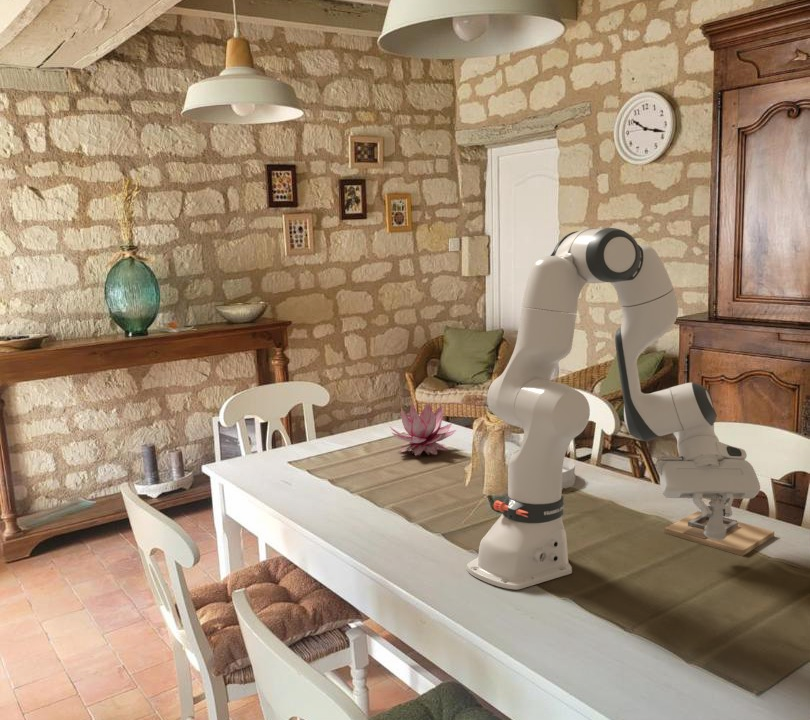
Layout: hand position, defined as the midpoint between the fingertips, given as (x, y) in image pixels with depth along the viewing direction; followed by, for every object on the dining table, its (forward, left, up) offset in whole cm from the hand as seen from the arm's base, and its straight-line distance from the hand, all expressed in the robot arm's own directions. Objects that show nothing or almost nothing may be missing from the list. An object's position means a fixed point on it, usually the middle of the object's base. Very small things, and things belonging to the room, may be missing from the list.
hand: (717, 515), depth 154 cm
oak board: (+15, +6, -10) cm, 19 cm away
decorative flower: (+14, +104, -10) cm, 106 cm away
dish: (+18, +61, -11) cm, 65 cm away
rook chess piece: (0, +1, -5) cm, 5 cm away
